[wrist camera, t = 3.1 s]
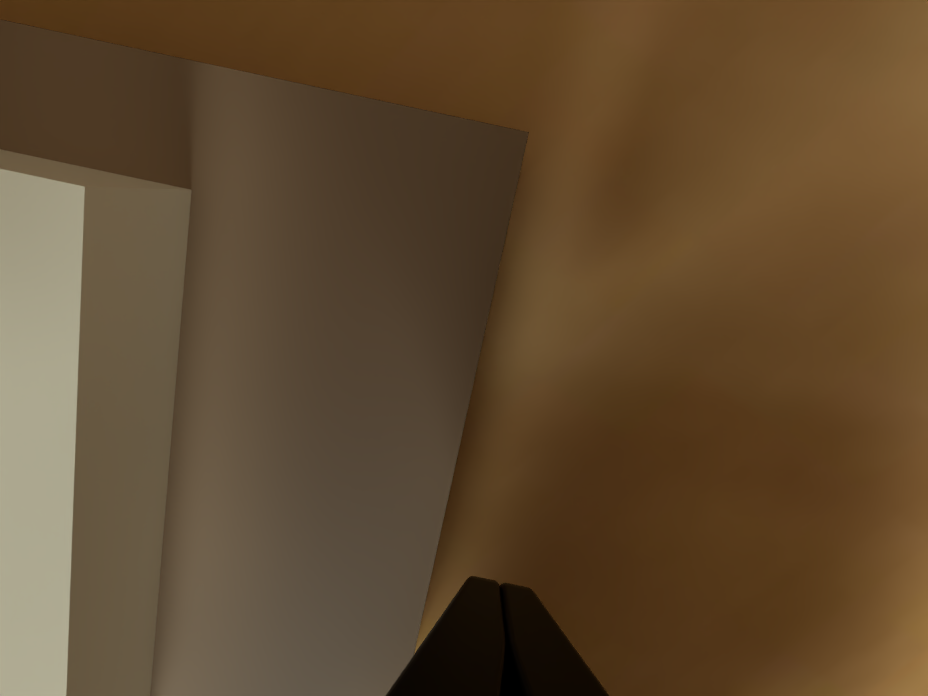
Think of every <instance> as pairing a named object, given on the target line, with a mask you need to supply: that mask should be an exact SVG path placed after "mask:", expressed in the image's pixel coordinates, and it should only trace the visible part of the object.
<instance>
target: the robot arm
mask: <svg viewBox="0 0 928 696" xmlns="http://www.w3.org/2000/svg"><path fill="white" fill-rule="evenodd" d="M386 696H609V695H608V693H607V692H606V691H605V689H604V688H603V686H602V685H601V684H600V682H599V681H598V680H597V678H596V677H595V675H594V674H593V673H592V671H591V670H590V669H589V667H588V666H587V664H586V663H585V662H584V660H583V659H582V658H581V656H580V655H579V653H578V652H577V651H576V649H575V648H574V647H573V645H572V644H571V642H570V641H569V640H568V638H567V637H566V636H565V634H564V633H563V631H562V630H561V629H560V627H559V626H558V625H557V623H556V622H555V620H554V619H553V618H552V616H551V615H550V614H549V612H548V611H547V609H546V608H545V607H544V605H543V604H542V603H541V601H540V600H539V598H538V597H537V596H536V594H535V593H534V592H533V591H532V590H531V589H530V588H528V587H524V586H519V585H514V584H509V583H502V584H501V585H500V586H499V583H498V582H497V581H495V580H490V579H485V578H480V577H476V576H470V577H469V578H468V579H467V580H466V581H465V583H464V584H463V585H462V587H461V588H460V590H459V591H458V593H457V594H456V596H455V597H454V598H453V600H452V601H451V603H450V604H449V606H448V607H447V608H446V610H445V611H444V613H443V614H442V616H441V617H440V618H439V620H438V621H437V623H436V624H435V626H434V627H433V628H432V630H431V631H430V633H429V634H428V636H427V637H426V638H425V640H424V641H423V643H422V644H421V646H420V647H419V648H418V650H417V651H416V653H415V654H414V656H413V657H412V658H411V660H410V661H409V663H408V664H407V666H406V667H405V668H404V670H403V671H402V673H401V674H400V676H399V677H398V678H397V680H396V681H395V683H394V684H393V686H392V687H391V688H390V690H389V691H388V693H387V694H386Z"/></svg>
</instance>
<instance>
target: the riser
mask: <svg viewBox="0 0 928 696" xmlns="http://www.w3.org/2000/svg"><path fill="white" fill-rule="evenodd" d="M528 134H529V132H525V131H520V130H516V129H511V128H506V127H502V126H497V125H492V124H488V123H483V122H478V121H473V120H469V119H464V118H459V117H455V116H450V115H445V114H441V113H436V112H431V111H427V110H422V109H417V108H413V107H408V106H403V105H399V104H394V103H389V102H384V101H380V100H375V99H370V98H366V97H361V96H356V95H352V94H347V93H342V92H338V91H333V90H328V89H324V88H319V87H314V86H310V85H305V84H300V83H295V82H291V81H286V80H281V79H277V78H272V77H267V76H263V75H258V74H253V73H249V72H244V71H239V70H235V69H230V68H225V67H221V66H216V65H211V64H207V63H202V62H197V61H192V60H188V59H183V58H178V57H174V56H169V55H164V54H160V53H155V52H150V51H146V50H141V49H136V48H132V47H127V46H122V45H118V44H113V43H108V42H103V41H99V40H94V39H89V38H85V37H80V36H75V35H71V34H66V33H61V32H57V31H52V30H47V29H43V28H38V27H33V26H29V25H24V24H19V23H14V22H10V21H5V20H0V149H1V150H6V151H10V152H15V153H20V154H25V155H29V156H34V157H39V158H44V159H48V160H53V161H58V162H63V163H67V164H72V165H77V166H81V167H86V168H91V169H96V170H100V171H105V172H110V173H115V174H119V175H124V176H129V177H133V178H138V179H143V180H148V181H152V182H157V183H162V184H167V185H171V186H176V187H181V188H185V189H190V190H191V203H190V215H189V227H188V239H187V252H186V264H185V276H184V288H183V300H182V313H181V325H180V337H179V349H178V361H177V374H176V386H175V398H174V410H173V423H172V435H171V447H170V459H169V471H168V484H167V496H166V508H165V520H164V533H163V545H162V557H161V569H160V581H159V594H158V606H157V618H156V630H155V642H154V655H153V667H152V679H151V691H150V696H386V694H387V693H388V691H389V690H390V688H391V687H392V686H393V684H394V683H395V681H396V680H397V678H398V677H399V676H400V674H401V673H402V671H403V670H404V668H405V667H406V666H407V664H408V663H409V661H410V660H411V658H412V657H413V656H414V651H415V647H416V642H417V638H418V633H419V629H420V624H421V619H422V615H423V610H424V606H425V601H426V597H427V592H428V588H429V583H430V579H431V574H432V570H433V565H434V560H435V556H436V551H437V547H438V542H439V538H440V533H441V529H442V524H443V520H444V515H445V511H446V506H447V501H448V497H449V492H450V488H451V483H452V479H453V474H454V470H455V465H456V461H457V456H458V451H459V447H460V442H461V438H462V433H463V429H464V424H465V420H466V415H467V411H468V406H469V402H470V397H471V392H472V388H473V383H474V379H475V374H476V370H477V365H478V361H479V356H480V352H481V347H482V342H483V338H484V333H485V329H486V324H487V320H488V315H489V311H490V306H491V302H492V297H493V293H494V288H495V283H496V279H497V274H498V270H499V265H500V261H501V256H502V252H503V247H504V243H505V238H506V234H507V229H508V224H509V220H510V215H511V211H512V206H513V202H514V197H515V193H516V188H517V184H518V179H519V174H520V170H521V165H522V161H523V156H524V152H525V147H526V143H527V138H528Z"/></svg>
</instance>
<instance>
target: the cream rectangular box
mask: <svg viewBox="0 0 928 696" xmlns="http://www.w3.org/2000/svg"><path fill="white" fill-rule="evenodd" d="M190 203H191V190H190V189H185V188H181V187H176V186H171V185H167V184H162V183H157V182H152V181H148V180H143V179H138V178H133V177H129V176H124V175H119V174H115V173H110V172H105V171H100V170H96V169H91V168H86V167H81V166H77V165H72V164H67V163H63V162H58V161H53V160H48V159H44V158H39V157H34V156H29V155H25V154H20V153H15V152H10V151H6V150H1V149H0V696H150V691H151V679H152V667H153V655H154V642H155V630H156V618H157V606H158V594H159V581H160V569H161V557H162V545H163V533H164V520H165V508H166V496H167V484H168V471H169V459H170V447H171V435H172V423H173V410H174V398H175V386H176V374H177V361H178V349H179V337H180V325H181V313H182V300H183V288H184V276H185V264H186V252H187V239H188V227H189V215H190Z"/></svg>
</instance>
